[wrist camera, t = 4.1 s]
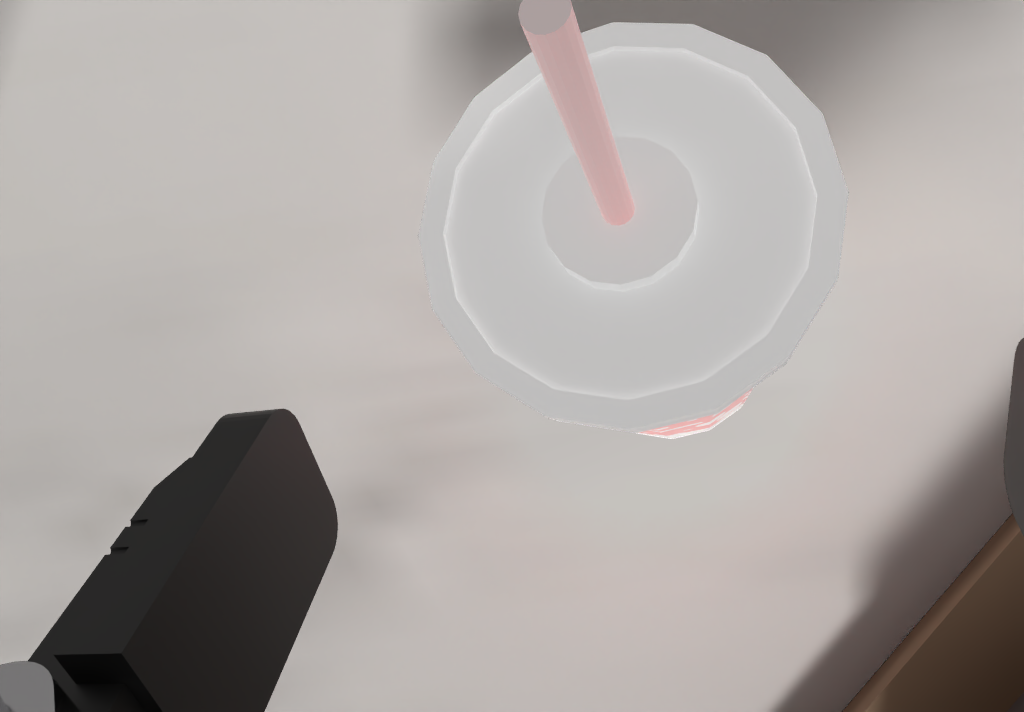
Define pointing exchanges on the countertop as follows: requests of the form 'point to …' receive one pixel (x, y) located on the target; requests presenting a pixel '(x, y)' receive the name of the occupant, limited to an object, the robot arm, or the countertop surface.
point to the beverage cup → (633, 224)
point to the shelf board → (962, 642)
